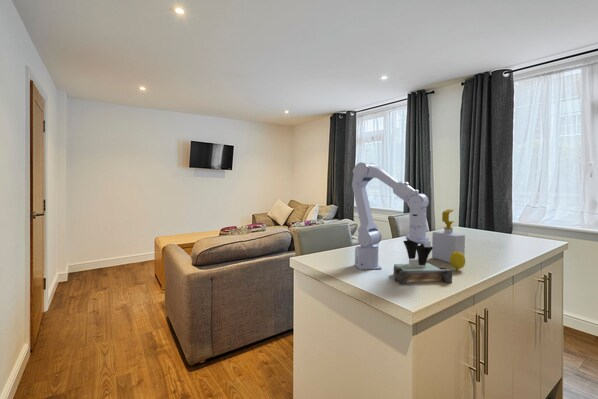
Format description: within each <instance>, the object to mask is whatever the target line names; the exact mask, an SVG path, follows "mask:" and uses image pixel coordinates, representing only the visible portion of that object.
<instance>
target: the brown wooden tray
mask: <svg viewBox="0 0 598 399" xmlns="http://www.w3.org/2000/svg"><path fill="white" fill-rule="evenodd" d="M438 268H439V269H447V267H446V266H439V267H438ZM393 275H394V281H395V282H396V283H397V284H399V285H400V286H402V285H408V283H415V282H416V283H419V282H423V283H424V282H442V283H444V284H453V270H452V269H447V270H445V273H423V274H406V271H402V269H401V268H395V267H394V266H393Z"/></svg>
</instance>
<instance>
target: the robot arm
mask: <svg viewBox="0 0 598 399" xmlns="http://www.w3.org/2000/svg"><path fill="white" fill-rule="evenodd" d="M352 174H353V176H352V182H351V187H352V191H353V196H354V201H355V205H356V211H357V214H358V220H359V224H360V225H359V227H358V229H357V232H358V235H357V240H358V244H360V245H359V246H358V245H357V246H355V249H354V266H356V267H357V269H359V270H382V266H380V265H379V250H380V249H379V243H380V242H381V241H382V233H381V231H380V230H379V228H378V225H377V224H376V223H375V222H374V219H373V214H372V210H371V206H370V201H369V197H368V196H369V195H368V192H367V189H366V187H367V185H368V184H369V182H371V181H372V180H373V179H378V180H379V181H381V182H382V183H384V184H385V185H387V186H388V187H390V188H391V189H392V193H393V194H394V195H395V196H397V197H398V198H400V199H401V200H402V201H403V202H405V203H407V207H408V208H409V225H408V226H409V227H408V228H409V232H408V234H407V233H406V234H405V240H403V245H404V246H405V249H406V252H407V257H408V260H409V259H416V256H417V259H418V262H419V265H425V264H426V263H427V261H428V257H429V256H430V254H431V253H432V249H433V247H432V246H431V245H432V244H431V242H432V241H430V240H429V237H427V207H428V206H429V204H430V200H429V197H428V196H427V195H426V194H425V193H423V192H420V190H418V189H414V188H413V187H412V186H410V183H409V182H408V181H402V180H401V181H398V180H396V179H395V178H394V177H393V176H392V175H390V174H389V173H388V172H386V171H385V170H384V169H383V168H381V167H380V166H378V165H376V164H375V163H367V162H361V161H360V162H358V163H356V165H355V166H354V167H353V169H352ZM419 192H420V193H419Z"/></svg>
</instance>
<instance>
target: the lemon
mask: <svg viewBox="0 0 598 399" xmlns="http://www.w3.org/2000/svg"><path fill="white" fill-rule="evenodd" d="M449 264H450V266H451V267H452V268H453V269H455V270H456V271H459V270H461V269H463V268H464V267H465V265H466V257H465V255H463V254H462V253H461V252H459V251H456V252H453V253H452V254H451V256H450V263H449Z"/></svg>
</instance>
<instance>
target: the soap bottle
mask: <svg viewBox="0 0 598 399" xmlns="http://www.w3.org/2000/svg"><path fill="white" fill-rule="evenodd" d="M452 212H454V209H446V210H444V211H442V213H441V216H442V217H441V220H442V223H444V224H445V226H444V227H443V230H437V231H432V240H431V242H432V244H431V245H432V246H431V247H433V249H432V250H431V259H435V260H438V261H442V262H446V263H448V264H450V256H451V254H452V253H453V252H456V251H459V252H461V253H462V254H463V255H464V256H466V255H465V252H466V251H465V248H466V244H465V243H466V235H465V234H462V233H457V232H456V233H455V232H453V231H454V228H453V227H452V225H453V223H455V222H454V220H453V221H452V220H450V213H452Z"/></svg>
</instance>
